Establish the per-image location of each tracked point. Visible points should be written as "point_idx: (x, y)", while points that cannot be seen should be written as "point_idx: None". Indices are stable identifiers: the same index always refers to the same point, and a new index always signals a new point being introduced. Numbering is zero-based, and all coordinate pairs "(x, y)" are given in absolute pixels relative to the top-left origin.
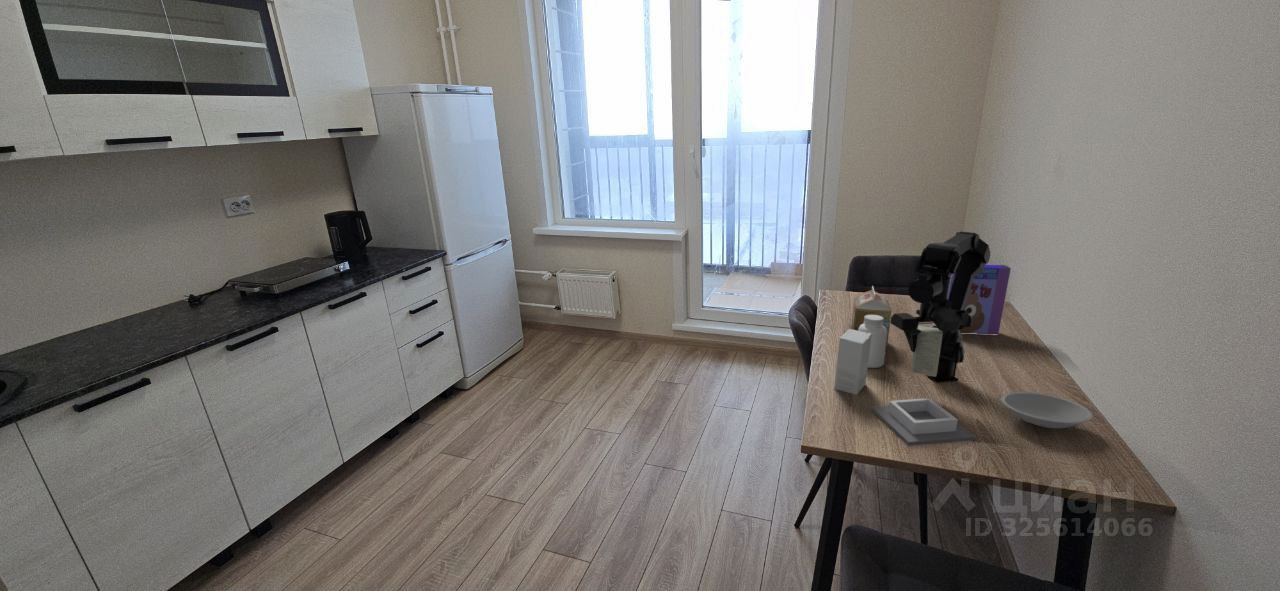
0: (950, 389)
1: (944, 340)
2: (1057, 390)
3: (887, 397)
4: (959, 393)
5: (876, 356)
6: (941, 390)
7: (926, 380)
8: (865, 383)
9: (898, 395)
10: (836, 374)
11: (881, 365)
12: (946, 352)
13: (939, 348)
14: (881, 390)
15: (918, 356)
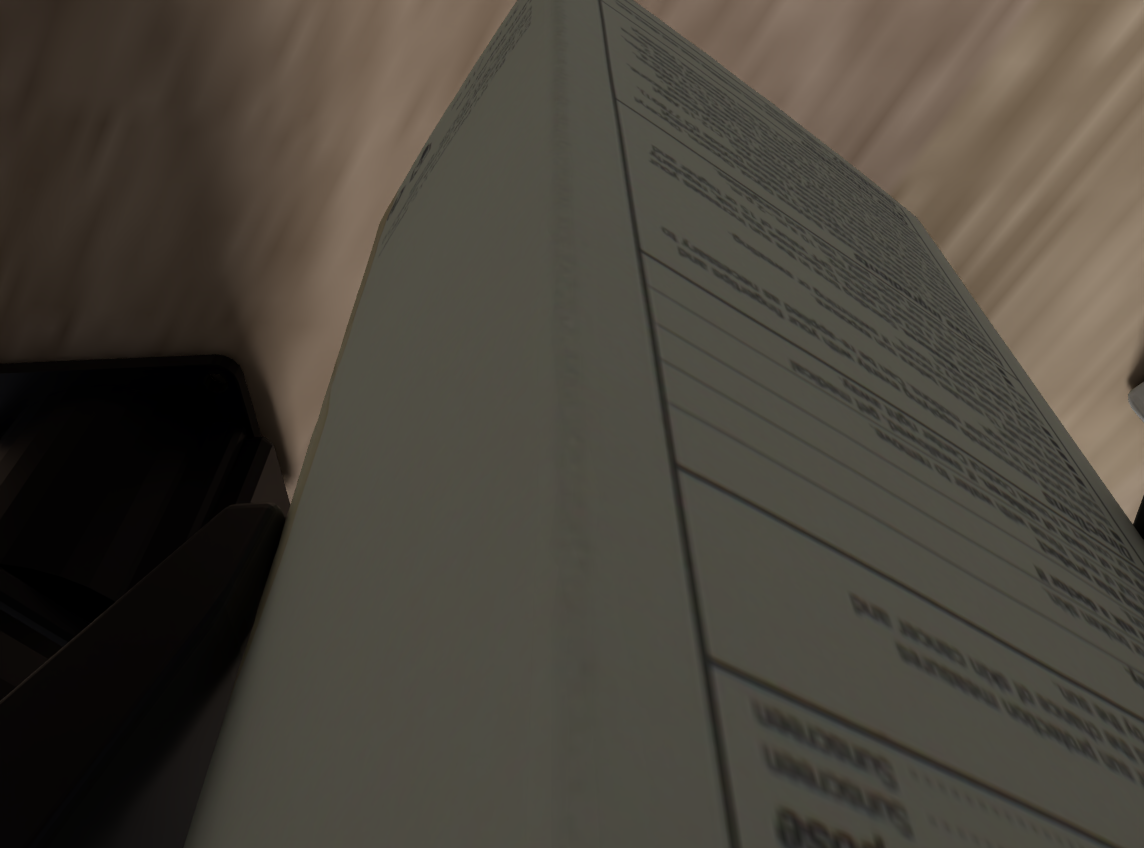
0: (135, 179)
1: (99, 778)
2: None
3: (1130, 37)
4: (51, 55)
5: None
6: (269, 163)
7: None
8: (1140, 391)
9: (936, 80)
10: None
11: None
12: (4, 656)
13: (586, 285)
14: (1051, 235)
15: (980, 368)
